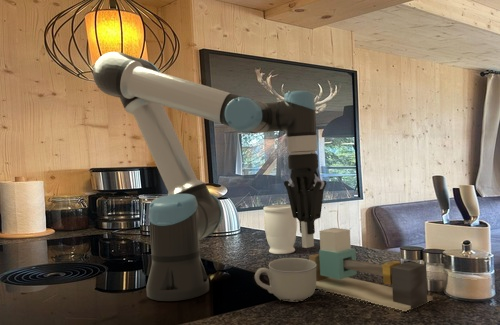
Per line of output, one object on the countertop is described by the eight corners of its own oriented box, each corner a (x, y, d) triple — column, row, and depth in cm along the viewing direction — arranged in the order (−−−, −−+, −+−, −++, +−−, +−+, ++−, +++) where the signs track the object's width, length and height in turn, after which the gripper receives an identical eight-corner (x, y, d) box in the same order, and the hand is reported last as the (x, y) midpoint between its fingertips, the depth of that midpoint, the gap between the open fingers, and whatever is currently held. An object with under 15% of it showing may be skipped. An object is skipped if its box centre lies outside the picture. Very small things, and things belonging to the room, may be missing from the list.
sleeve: (339, 279, 107) (337, 233, 107) (320, 275, 111) (317, 231, 111) (356, 274, 110) (354, 229, 110) (337, 270, 115) (334, 227, 115)
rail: (404, 313, 91) (402, 272, 91) (303, 286, 113) (301, 253, 113) (432, 301, 98) (430, 262, 97) (331, 277, 120) (329, 246, 119)
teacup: (314, 289, 110) (312, 255, 110) (322, 304, 100) (320, 267, 99) (254, 293, 110) (252, 259, 110) (257, 309, 99) (254, 271, 99)
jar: (298, 247, 158) (295, 203, 158) (298, 254, 148) (295, 207, 148) (266, 249, 159) (264, 204, 159) (264, 255, 149) (262, 208, 149)
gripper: (332, 151, 115) (337, 247, 116) (295, 153, 125) (300, 241, 126) (311, 153, 111) (316, 252, 111) (274, 154, 121) (279, 246, 121)
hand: (308, 246), depth 118 cm, fingers closed
